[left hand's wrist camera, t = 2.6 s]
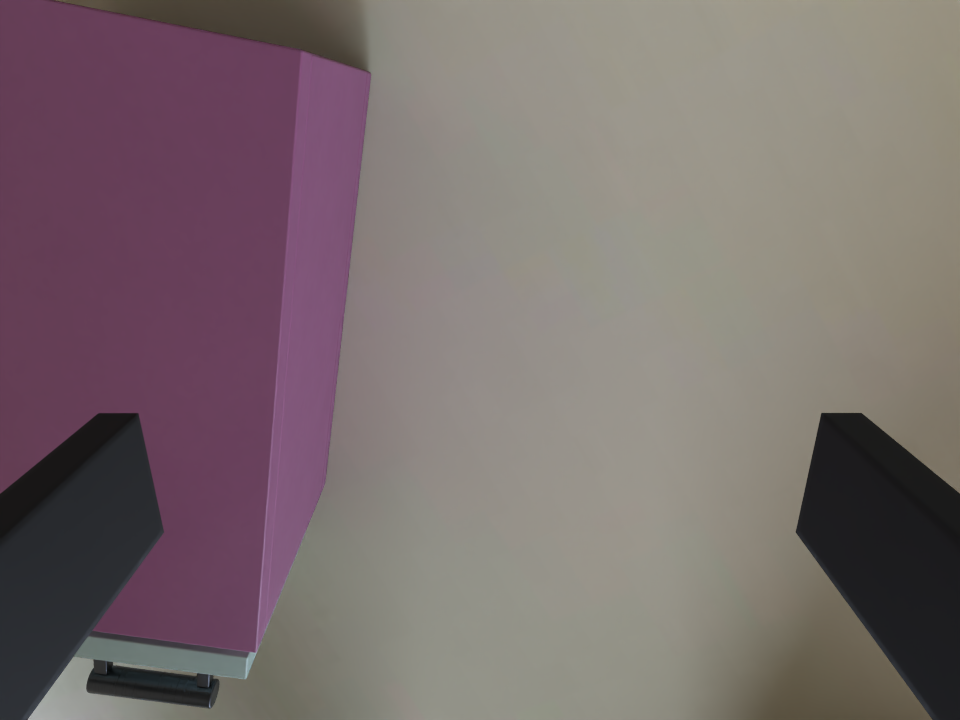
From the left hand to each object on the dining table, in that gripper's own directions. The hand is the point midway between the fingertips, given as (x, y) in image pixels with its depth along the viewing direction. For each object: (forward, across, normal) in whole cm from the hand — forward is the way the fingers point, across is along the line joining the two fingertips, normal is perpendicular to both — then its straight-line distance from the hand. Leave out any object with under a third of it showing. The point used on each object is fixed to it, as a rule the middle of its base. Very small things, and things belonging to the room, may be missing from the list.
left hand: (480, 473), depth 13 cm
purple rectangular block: (+20, -12, -1) cm, 23 cm away
